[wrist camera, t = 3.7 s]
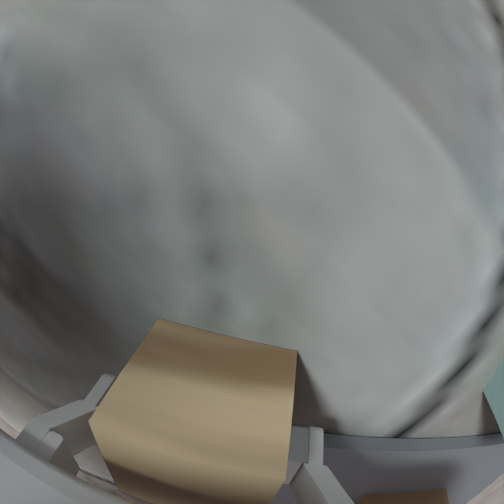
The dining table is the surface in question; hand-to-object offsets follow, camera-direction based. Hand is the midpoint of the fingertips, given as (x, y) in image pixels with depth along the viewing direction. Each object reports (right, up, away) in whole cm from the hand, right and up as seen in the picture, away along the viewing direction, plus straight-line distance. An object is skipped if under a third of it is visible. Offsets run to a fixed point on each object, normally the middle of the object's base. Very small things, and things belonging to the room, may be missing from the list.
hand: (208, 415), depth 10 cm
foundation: (+10, -11, +4) cm, 16 cm away
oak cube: (0, +1, +1) cm, 2 cm away
